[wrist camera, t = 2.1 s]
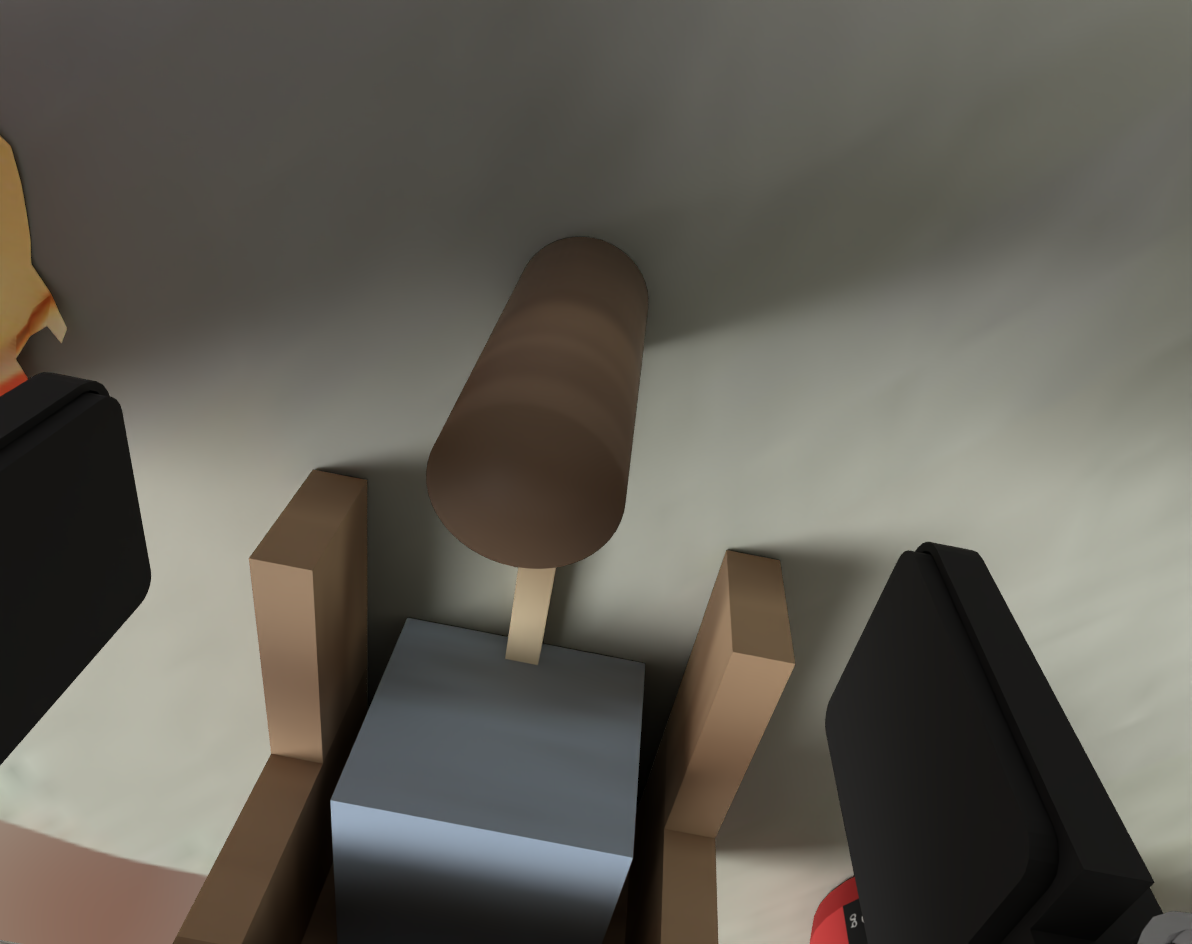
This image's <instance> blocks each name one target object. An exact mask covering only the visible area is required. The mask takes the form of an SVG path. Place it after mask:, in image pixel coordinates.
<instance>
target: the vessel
mask: <svg viewBox="0 0 1192 944" xmlns="http://www.w3.org/2000/svg"><path fill="white" fill-rule="evenodd" d="M46 326H47V327H48V328H49V329H50V330H51V331H52V333H53V334H54V335H55V336H56V337H57V339H58V340H59V341H60V342H61V343H62V341H63V338H64V336H65V333H66V331H67V327H66V325H65V323H64V321H63V319H62V317H61V315H60V313H59V311H58V308H57V306H56V304H55V301H54V299H53V297H52V294H51V293H50V291H49V290H48V288H47V287H46V285H45V284H44V282H43V281H42V279H41V278H40V276H39V275H38V273H37V272H36V270H35V269H34V267H33V266H32V264H31V240H30V233H29V226H28V219H27V212H26V207H25V201H24V196H23V191H22V185H21V180H20V177H19V173H18V170H17V166H16V162H15V159H14V155H13V152H12V148H11V146H10V145H9V144H8V143H7V142H6V141H5V140H4V139H3V138H2V137H1V136H0V396H2V395H3V394H5V393H7V392H8V391H10V390H12V389H13V388H15V387H17V386H18V385H20V384H22V383H23V382H25V381H27V380H28V378H27V376H26V375H25V373H24V372H23V370H22V368H21V367H20V365H19V363H18V362H17V360H16V358H17V356H18V355H19V353H20V352H21V350H22V348H23V347H24V345H25V344H26V342H27V340H28V339H29V337H30V336H31V335H33V334H35V333H36V332H38V331H40V330H41V329H43V328H45V327H46Z"/></svg>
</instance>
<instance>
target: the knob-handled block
mask: <svg viewBox="0 0 1192 944" xmlns="http://www.w3.org/2000/svg"><path fill="white" fill-rule="evenodd" d="M647 314H648V292H647V287H646V284H645V281H644V278H643V276H642V274H641V272H640V270H639V269H638V267H637V266H636V264H635V263H634V262H633V261H632V259H630V258H629V257H628V256H627V255H626V254H625V253H624V252H623V251H621V250H620V249H619V248H617V247H615V246H614V245H612V244H610V243H607V242H605V241H603V240H599V239H595V238H590V237H570V238H565V239H561V240H558V241H555V242H553V243H551V244H549V245H547V246H546V247H544V248H542V249H541V250H540V251H539V252H537V253H536V254H535V255H534V256H533V258H532V259H531V260H530V261H529V263H528V264H527V265H526V267H525V269H524V271H523V273H522V275H521V277H520V279H519V281H518V283H517V285H516V287H515V289H514V291H513V292H512V294H511V296H510V298H509V300H508V302H507V304H506V306H505V308H504V310H503V312H502V314H501V316H500V318H499V320H498V322H497V324H496V326H495V328H494V329H493V331H492V333H491V335H490V337H489V339H488V341H487V343H486V345H485V347H484V349H483V351H482V353H481V355H480V357H479V359H478V361H477V363H476V365H475V366H474V368H473V370H472V372H471V374H470V376H469V378H468V380H467V382H466V384H465V386H464V388H463V390H462V392H461V394H460V396H459V398H458V400H457V402H456V403H455V405H454V407H453V409H452V411H451V413H450V415H449V417H448V419H447V421H446V423H445V425H444V427H443V429H442V431H441V433H440V435H439V437H438V439H437V440H436V442H435V444H434V446H433V448H432V450H431V453H430V456H429V459H428V463H427V470H426V484H427V489H428V494H429V497H430V500H431V503H432V506H433V508H434V510H435V512H436V514H437V515H438V517H439V518H440V520H441V521H442V523H443V524H444V525H445V527H446V528H447V529H448V530H449V531H450V532H451V533H452V534H453V535H454V536H455V537H456V538H457V539H458V540H459V541H460V542H462V543H463V544H464V545H466V546H467V547H468V548H470V549H471V550H473V551H475V552H477V553H478V554H480V555H482V556H484V557H486V558H489V559H491V560H493V561H496V562H499V563H502V564H506V565H510V566H514V567H518V574H517V581H516V588H515V595H514V602H513V608H512V615H511V622H510V629H509V636H508V637H505V636H500V635H495V634H490V633H485V632H479V631H474V630H469V629H464V628H459V627H454V626H448V625H443V624H438V623H433V622H428V621H423V620H417V619H412V618H407V620H406V622H405V624H404V627H403V629H402V632H401V634H400V636H399V639H398V641H397V643H396V646H395V648H394V651H393V653H392V655H391V658H390V660H389V662H388V665H387V667H386V669H385V672H384V674H383V677H382V679H381V681H380V684H379V686H378V688H377V691H376V693H375V696H374V698H373V700H372V703H371V705H370V707H369V710H368V712H367V715H366V717H365V719H364V722H363V724H362V726H361V729H360V731H359V734H358V736H357V738H356V741H355V743H354V745H353V748H352V750H351V753H350V755H349V757H348V760H347V762H346V764H345V767H344V769H343V772H342V774H341V776H340V779H339V781H338V783H337V786H336V788H335V790H334V793H333V795H332V798H331V800H330V802H331V822H332V843H333V863H334V883H335V904H336V924H337V944H602V942H603V939H604V937H605V934H606V931H607V928H608V926H609V923H610V920H611V917H612V915H613V912H614V909H615V906H616V904H617V901H618V898H619V895H620V892H621V890H622V887H623V884H624V881H625V879H626V876H627V873H628V870H629V868H630V865H631V862H632V859H633V850H634V834H635V818H636V802H637V787H638V771H639V755H640V739H641V723H642V707H643V692H644V676H645V663H640V662H635V661H630V660H624V659H619V658H614V657H609V656H604V655H598V654H593V653H588V652H583V651H578V650H573V649H567V648H562V647H557V646H552V645H547V644H542V643H543V638H544V632H545V627H546V621H547V616H548V610H549V605H550V599H551V594H552V588H553V583H554V578H555V572H556V567H562V566H565V565H569V564H573V563H575V562H578V561H580V560H583V559H585V558H587V557H588V556H590V555H592V554H594V553H595V552H596V551H598V550H599V549H600V548H601V547H603V546H604V545H605V544H606V543H607V542H608V541H609V540H610V538H611V537H612V536H613V534H614V533H615V532H616V530H617V528H618V526H619V524H620V522H621V519H622V516H623V513H624V509H625V502H626V494H627V485H628V477H629V468H630V460H631V451H632V443H633V434H634V426H635V417H636V408H637V400H638V391H639V383H640V374H641V366H642V357H643V349H644V340H645V331H646V323H647Z"/></svg>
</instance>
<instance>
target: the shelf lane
mask: <svg viewBox="0 0 1192 944" xmlns="http://www.w3.org/2000/svg"><path fill="white" fill-rule="evenodd" d="M249 563H250V572H251V581H252V590H253V598H254V607H255V616H256V624H257V633H258V642H259V651H260V659H261V668H262V677H263V685H264V694H265V703H266V712H267V720H268V729H269V738H270V746H271V755H270V757H269V759H268V761H267V763H266V765H265V767H264V769H263V771H262V773H261V775H260V777H259V778H258V780H257V782H256V784H255V786H254V788H253V790H252V792H251V794H250V796H249V798H248V800H247V802H246V803H245V805H244V807H243V809H242V811H241V813H240V815H239V817H238V819H237V821H236V823H235V825H234V827H233V829H232V830H231V832H230V834H229V836H228V838H227V840H226V842H225V844H224V846H223V848H222V850H221V852H220V854H219V855H218V857H217V859H216V861H215V863H214V865H213V867H212V869H211V871H210V873H209V875H208V877H207V879H206V880H205V882H204V884H203V887H202V888H201V890H200V892H199V894H198V896H197V898H196V900H195V902H194V904H193V905H192V907H191V909H190V911H189V913H188V915H187V917H186V919H185V921H184V923H183V925H182V927H181V929H180V931H179V932H178V934H177V937H176V938H175V940H174V942H173V944H337V924H336V904H335V883H334V863H333V843H332V822H331V802H330V800H331V798H332V795H333V793H334V790H335V788H336V786H337V783H338V781H339V779H340V776H341V774H342V772H343V769H344V767H345V764H346V762H347V760H348V757H349V755H350V753H351V750H352V748H353V745H354V743H355V741H356V738H357V736H358V734H359V731H360V729H361V726H362V724H363V722H364V719H365V717H366V715H367V480H364V479H359V478H354V477H349V476H344V475H339V474H334V473H329V472H323V471H318V470H312V472H311V473H310V475H309V476H308V477H307V479H306V480H305V481H304V483H303V484H302V486H301V487H300V488H299V490H298V491H297V493H296V494H295V495H294V497H293V498H292V499H291V501H290V502H289V504H288V505H287V506H286V508H285V509H284V511H283V512H282V513H281V515H280V516H279V517H278V519H277V520H276V522H275V523H274V524H273V526H272V527H271V528H270V530H269V531H268V533H267V534H266V535H265V537H264V538H263V540H262V541H261V542H260V544H259V545H258V546H257V548H256V549H255V551H254V552H253V553H252V555H251V556H250V558H249ZM794 666H795V659H794V652H793V645H792V638H791V631H790V625H789V618H788V611H787V604H786V598H785V591H784V584H783V577H782V570H781V564H780V560H775V559H770V558H765V557H760V556H755V555H749V554H744V553H739V552H734V551H729V550H726V553H725V556H724V559H723V562H722V564H721V567H720V570H719V573H718V576H717V579H716V582H715V585H714V588H713V591H712V594H711V597H710V599H709V602H708V605H707V608H706V611H705V614H704V617H703V620H702V623H701V626H700V629H699V631H698V634H697V637H696V640H695V643H694V646H693V649H692V652H691V655H690V658H689V661H688V664H687V666H686V669H685V672H684V675H683V678H682V681H681V684H680V687H679V690H678V693H677V696H676V698H675V701H674V704H673V707H672V710H671V713H670V716H669V719H668V722H667V725H666V728H665V731H664V733H663V736H662V739H661V742H660V745H659V748H658V751H657V754H656V757H655V760H654V763H653V765H652V768H651V771H650V774H649V777H648V780H647V783H646V786H645V789H644V792H643V795H642V798H641V800H640V803H639V806H638V809H637V812H636V818H635V834H634V850H633V859H632V862H631V865H630V868H629V870H628V873H627V876H626V879H625V881H624V884H623V887H622V890H621V892H620V895H619V898H618V901H617V904H616V906H615V909H614V912H613V915H612V917H611V920H610V923H609V926H608V928H607V931H606V934H605V937H604V939H603V942H602V944H718V918H717V883H716V849H715V838H716V836H717V833H718V831H719V829H720V827H721V825H722V823H723V820H724V818H725V816H726V814H727V812H728V809H729V807H730V805H731V803H732V801H733V799H734V796H735V794H736V792H737V790H738V788H739V786H740V783H741V781H742V779H743V777H744V775H745V772H746V770H747V768H748V766H749V764H750V762H751V759H752V757H753V755H754V753H755V751H756V749H757V746H758V744H759V742H760V740H761V738H762V735H763V733H764V731H765V729H766V727H767V725H768V722H769V720H770V718H771V716H772V714H773V711H774V709H775V707H776V705H777V703H778V701H779V698H780V696H781V694H782V692H783V690H784V688H785V685H786V683H787V681H788V679H789V677H790V674H791V672H792V670H793V668H794Z"/></svg>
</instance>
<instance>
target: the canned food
mask: <svg viewBox="0 0 1192 944" xmlns="http://www.w3.org/2000/svg"><path fill="white" fill-rule="evenodd" d="M810 944H868V942H867V937H866V932H865V927H864V922H863V917H862V912H861V906H860V901H859V896H858V891H857V886H856V881H855V876H854V877H852V878H850V879H848V880H846V881H845V882H844V883H842V884H841V885H840V886H838V887H837V888H836V889H834V890H833V891H832V892H830V893H829V894H828V895H827V896H826V898H825V899H824V900H823V901H822V902H821V903H820V905H819V907H818V909H817V911H816V913H815V916H814V920H813V926H812V933H811V939H810Z"/></svg>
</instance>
